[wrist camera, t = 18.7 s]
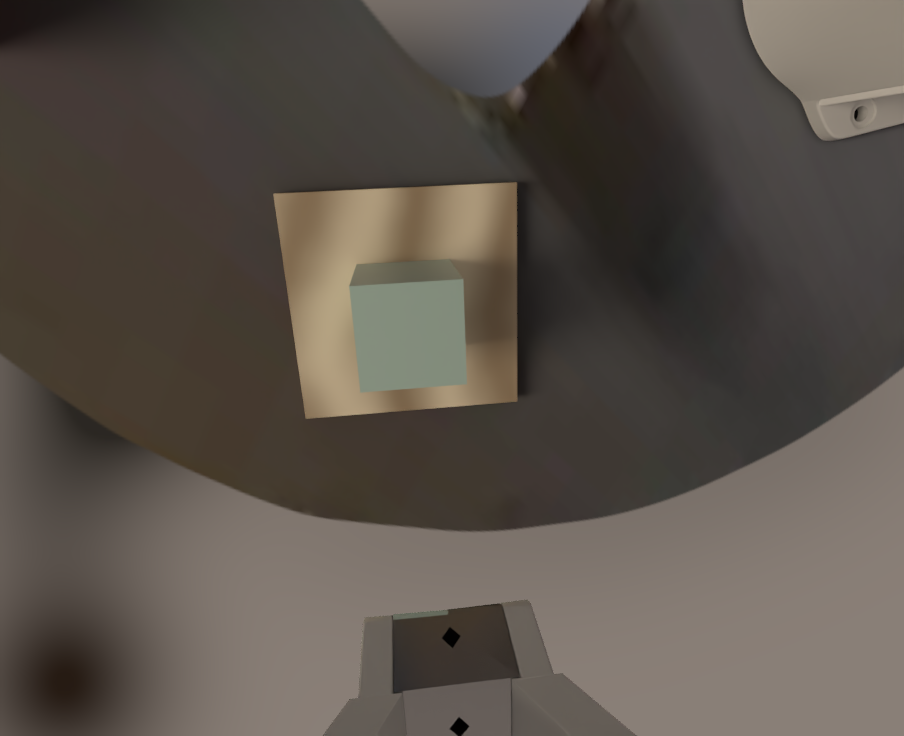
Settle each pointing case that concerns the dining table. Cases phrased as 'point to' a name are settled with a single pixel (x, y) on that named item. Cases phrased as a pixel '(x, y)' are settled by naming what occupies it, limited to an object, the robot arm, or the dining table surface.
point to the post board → (400, 240)
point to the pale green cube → (408, 325)
